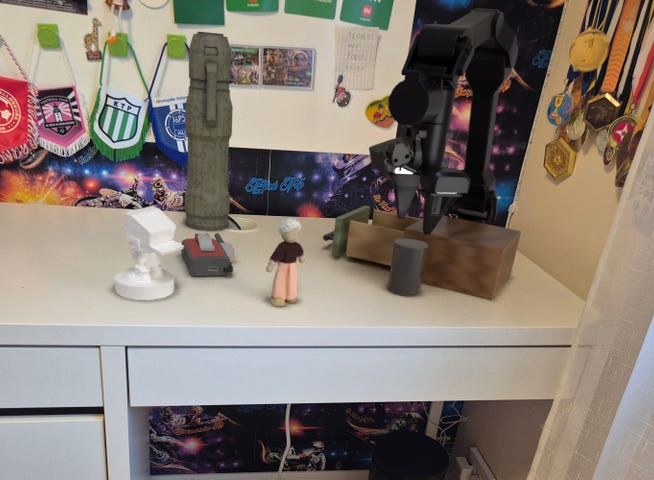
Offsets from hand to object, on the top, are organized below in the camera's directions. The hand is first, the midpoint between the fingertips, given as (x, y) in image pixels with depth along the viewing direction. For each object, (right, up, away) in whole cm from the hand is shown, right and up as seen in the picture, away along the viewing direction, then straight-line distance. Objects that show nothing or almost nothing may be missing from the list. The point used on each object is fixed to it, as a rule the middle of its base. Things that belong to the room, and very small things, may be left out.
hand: (413, 226), depth 101 cm
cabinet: (+10, -6, +13) cm, 18 cm away
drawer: (-4, -1, +19) cm, 19 cm away
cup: (-1, -10, +5) cm, 11 cm away
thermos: (-37, +6, +30) cm, 48 cm away
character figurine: (-41, -11, -5) cm, 42 cm away
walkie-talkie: (-34, -4, +10) cm, 36 cm away
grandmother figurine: (-20, -12, -4) cm, 24 cm away
